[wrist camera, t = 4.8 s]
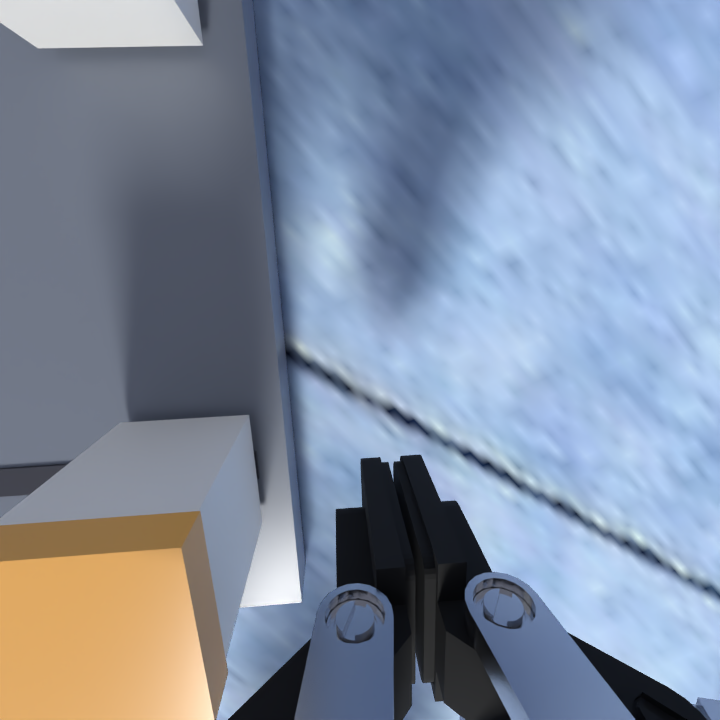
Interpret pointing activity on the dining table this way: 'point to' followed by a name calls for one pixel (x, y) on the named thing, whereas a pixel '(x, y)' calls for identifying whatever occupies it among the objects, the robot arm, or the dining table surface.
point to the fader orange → (129, 575)
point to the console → (143, 262)
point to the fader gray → (103, 22)
